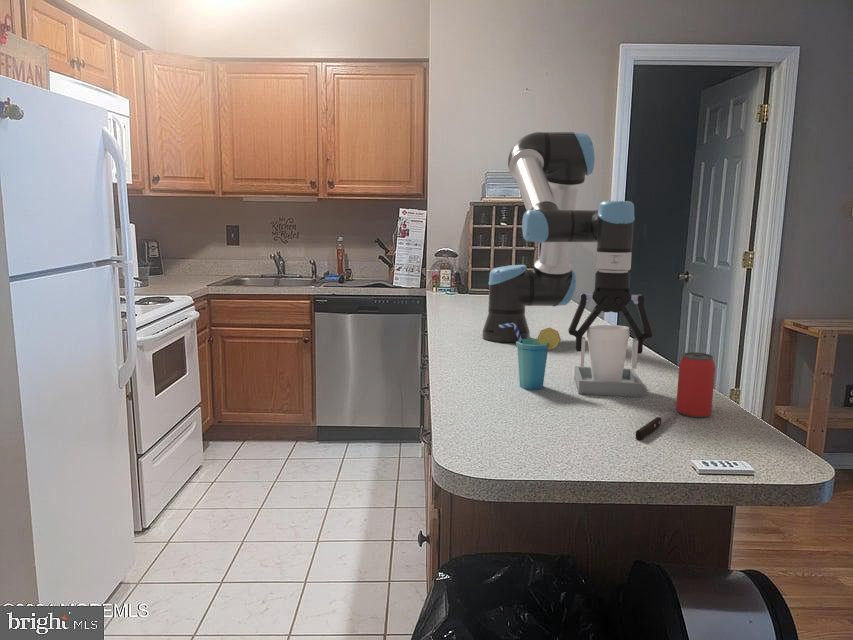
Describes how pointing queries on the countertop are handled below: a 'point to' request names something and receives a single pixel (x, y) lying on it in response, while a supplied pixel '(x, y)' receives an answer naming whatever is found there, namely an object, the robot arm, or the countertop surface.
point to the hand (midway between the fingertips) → (607, 366)
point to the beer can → (695, 384)
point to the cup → (534, 356)
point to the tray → (608, 384)
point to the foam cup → (607, 351)
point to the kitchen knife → (652, 426)
